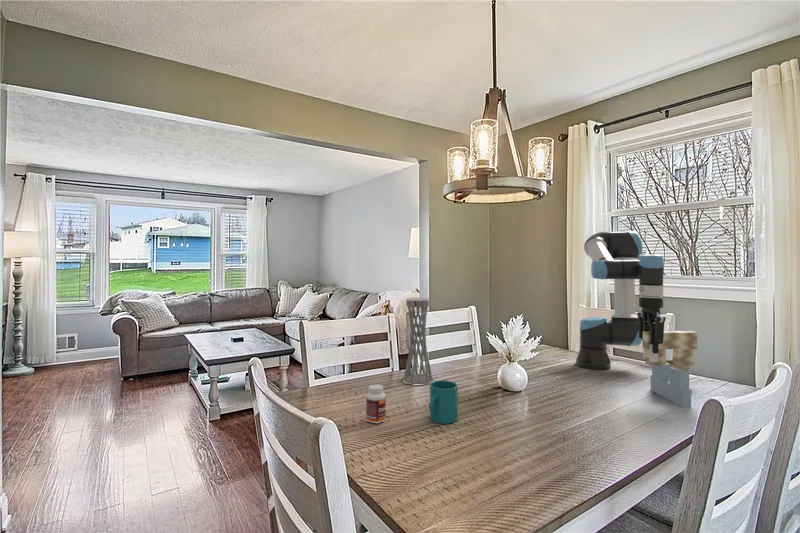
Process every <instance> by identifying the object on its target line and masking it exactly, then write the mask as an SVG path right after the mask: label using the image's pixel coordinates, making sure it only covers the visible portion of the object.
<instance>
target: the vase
mask: <svg viewBox="0 0 800 533" xmlns="http://www.w3.org/2000/svg"><path fill="white" fill-rule="evenodd" d="M405 301H406V303H405V306H406V307H407V310H408V318H409V326H410V330H409V331H410V332H409V347H408V348H409V349H408V355H407V360H406V365H405V368H404V369H405V371H404V375H403V377H402V378H401V380H402V379H403V381H405V382H407V383H411V384H429V383H431V382H433V381H434V382H435V377H433V375H432V374H433V373H432V369H431V364H430V359H429V355H428V354H429V353H428V348H427V334H426V325H427V312H428V307H430V299H429V298H427V297H409V298H406V300H405ZM415 308H416V312H415ZM420 309H421V312H420ZM420 347H421V348H420ZM418 357H419V371H418V363H417V362H418ZM423 360H424V361H423ZM412 361H413V366H412ZM411 370H412V371H411ZM418 372H419V373H418ZM403 381H402V382H403ZM429 385H430V384H429Z"/></svg>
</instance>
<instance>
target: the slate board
mask: <svg viewBox="0 0 800 533" xmlns="http://www.w3.org/2000/svg"><path fill="white" fill-rule="evenodd" d="M651 370H652V371H651V374H650V391H651V392H654V393H655V394H657V395H659V396H660V397H662V398H665V399H667V400H668V401H670V402H672V403H674V404H676V405H678V406H680V407H681V408H692V389H690V371H689V370H688V371H686V370H683V369H681V368H678V367H670V364H668V363H666V365H656V366H651Z"/></svg>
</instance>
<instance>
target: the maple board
mask: <svg viewBox="0 0 800 533" xmlns="http://www.w3.org/2000/svg"><path fill="white" fill-rule="evenodd" d="M649 343H651V335H650V331H643V341H642V349H643V348H645V359H644V363H645V364H646V365H647V366H651V367H652V366H656V365H666V360H667V350H673V351H672V360H673V363H674V364H676V365H691V366H695V350H698V332H696V331H693V330H664V337H663V343H662V344H659V350H658V362H650V361H649V347H650V344H649Z"/></svg>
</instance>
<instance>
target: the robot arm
mask: <svg viewBox="0 0 800 533" xmlns="http://www.w3.org/2000/svg"><path fill="white" fill-rule="evenodd" d="M583 246H584V247H583V249H584V252H585V254H586V255H587V256H588V257H590V259H591V266H590V268H591V269H590V273H591V277H592V278H593V279H596V280H613V283H614V284H613V286H614V292H613V293H614V294H613V295H614V313H613V314H611V319H608V318H607V317H606V316H589V317H588V316H587V317H584V318H582V319H580V322H579V350H578V353H577V356H576V359H575V364H576V366H578V367H580V368H583V369H587V370H588V369H589V370H599V371H600V370H609V369H611V368H612V362H611V360H610V357H609V353H608V349H607V348H608V346H624V347H638V346H641V344H642V343H643V331H650V335H651V343H649V344H650V347H649V361H650V362H658V350H659V344H662V343H663V337H664V331H665V322H666V319H667V318H666V316H663V315H661V311H660V309H662V308H664V298H663V297H664V267H665V266H664V265H665V264H664V257H663V255H661V254H642V253H643V242H642V238H641V236H640V234H639V233H638V232H637V231H634V230H633V231H632V230H631V231H630V230H629V231H628V230H624V231H623V230H622V231H600V232H597V233H595V234H592V235H591V236H590V237H588V238H587V239H586V240H585V243H584V245H583ZM636 280H638V282H639V284H638V286H639V287H638V291H639V292H638V295H639V298H638V306H639V307H640V308H642V309H641V311H639V312H637V313H636V285H635V284H636V282H635V281H636ZM642 351H643V352H642V354H643V356H642V357H643V358H642V359H643V360H645V348H643V347H642Z"/></svg>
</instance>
